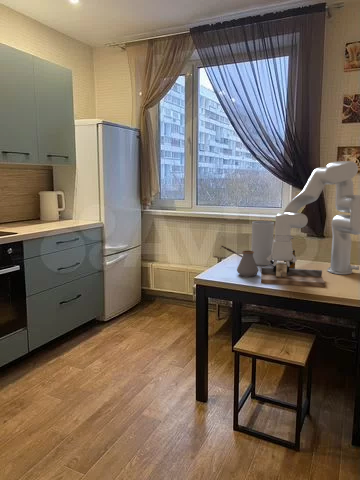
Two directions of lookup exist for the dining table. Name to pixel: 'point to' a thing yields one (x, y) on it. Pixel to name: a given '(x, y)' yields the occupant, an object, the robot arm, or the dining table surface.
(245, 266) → the coffee pot
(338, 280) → the dining table surface
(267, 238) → the cylinder vase
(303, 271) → the board
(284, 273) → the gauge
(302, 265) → the dining table surface
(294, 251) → the condiment
